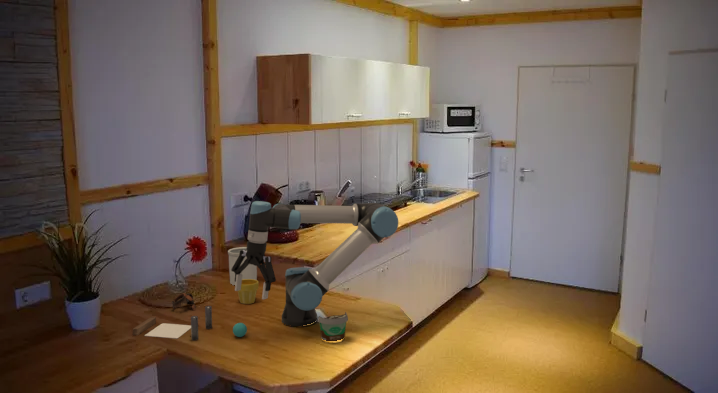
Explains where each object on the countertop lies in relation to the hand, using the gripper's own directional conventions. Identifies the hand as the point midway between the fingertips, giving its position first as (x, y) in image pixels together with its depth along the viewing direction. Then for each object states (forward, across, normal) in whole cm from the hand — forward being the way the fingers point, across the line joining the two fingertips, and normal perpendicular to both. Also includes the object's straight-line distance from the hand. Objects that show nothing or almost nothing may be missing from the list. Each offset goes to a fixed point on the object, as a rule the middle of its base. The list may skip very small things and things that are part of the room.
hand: (251, 294), depth 229 cm
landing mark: (+21, -31, -10) cm, 39 cm away
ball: (+15, -3, -1) cm, 15 cm away
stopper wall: (+22, -41, -14) cm, 49 cm away
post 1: (+20, -16, -12) cm, 28 cm away
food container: (+14, +32, +14) cm, 38 cm away
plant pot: (+17, -28, +35) cm, 48 cm away
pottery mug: (+21, -46, +13) cm, 52 cm away
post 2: (+19, -20, 0) cm, 27 cm away
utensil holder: (+17, -51, +59) cm, 80 cm away
